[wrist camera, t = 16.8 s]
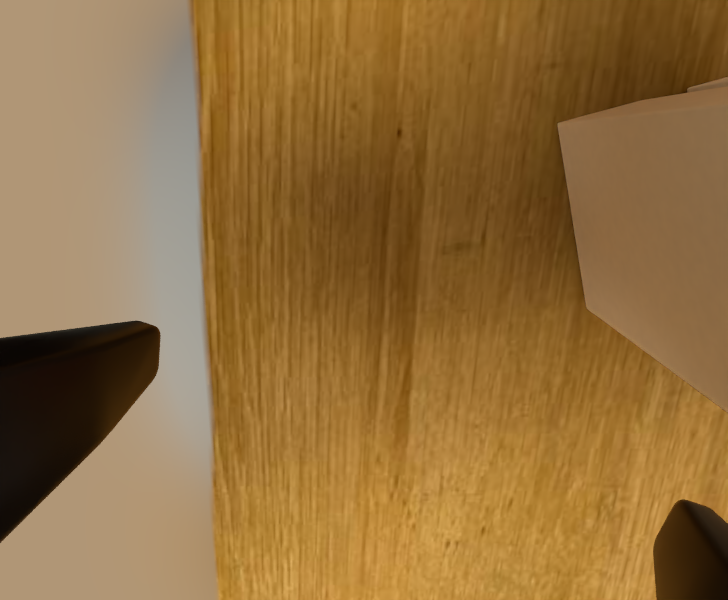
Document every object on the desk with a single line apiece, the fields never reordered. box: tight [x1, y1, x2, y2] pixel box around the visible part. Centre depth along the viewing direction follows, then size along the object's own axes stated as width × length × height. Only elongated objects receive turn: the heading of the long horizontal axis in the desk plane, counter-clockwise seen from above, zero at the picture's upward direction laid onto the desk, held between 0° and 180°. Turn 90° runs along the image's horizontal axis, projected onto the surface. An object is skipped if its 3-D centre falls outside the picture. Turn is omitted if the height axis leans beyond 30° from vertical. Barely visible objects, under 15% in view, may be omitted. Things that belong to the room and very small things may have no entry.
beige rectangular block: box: [557, 86, 728, 413], centre depth 14 cm, size 3×7×13 cm, turn 15°
